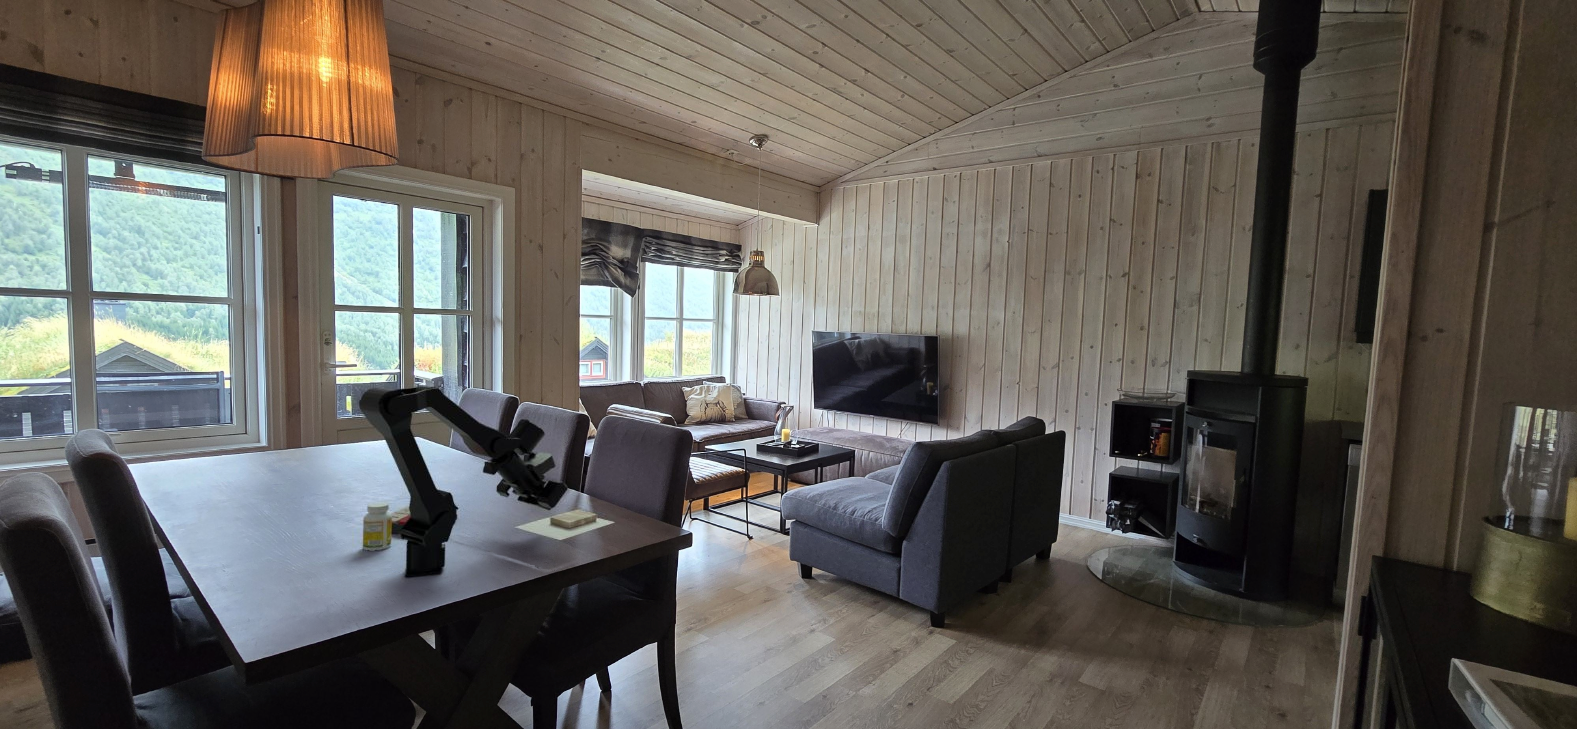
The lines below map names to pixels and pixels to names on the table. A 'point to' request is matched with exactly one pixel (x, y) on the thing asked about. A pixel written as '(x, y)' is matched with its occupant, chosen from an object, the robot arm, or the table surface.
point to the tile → (573, 519)
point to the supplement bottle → (377, 527)
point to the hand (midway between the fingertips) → (549, 508)
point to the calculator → (400, 519)
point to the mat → (561, 528)
